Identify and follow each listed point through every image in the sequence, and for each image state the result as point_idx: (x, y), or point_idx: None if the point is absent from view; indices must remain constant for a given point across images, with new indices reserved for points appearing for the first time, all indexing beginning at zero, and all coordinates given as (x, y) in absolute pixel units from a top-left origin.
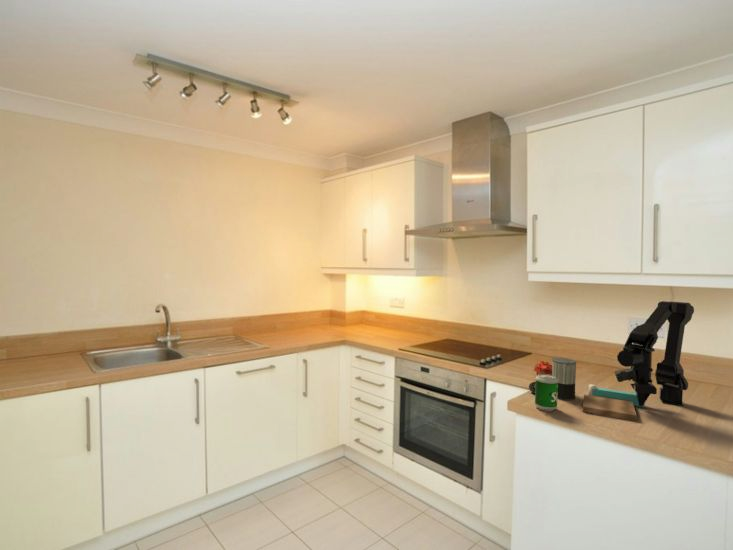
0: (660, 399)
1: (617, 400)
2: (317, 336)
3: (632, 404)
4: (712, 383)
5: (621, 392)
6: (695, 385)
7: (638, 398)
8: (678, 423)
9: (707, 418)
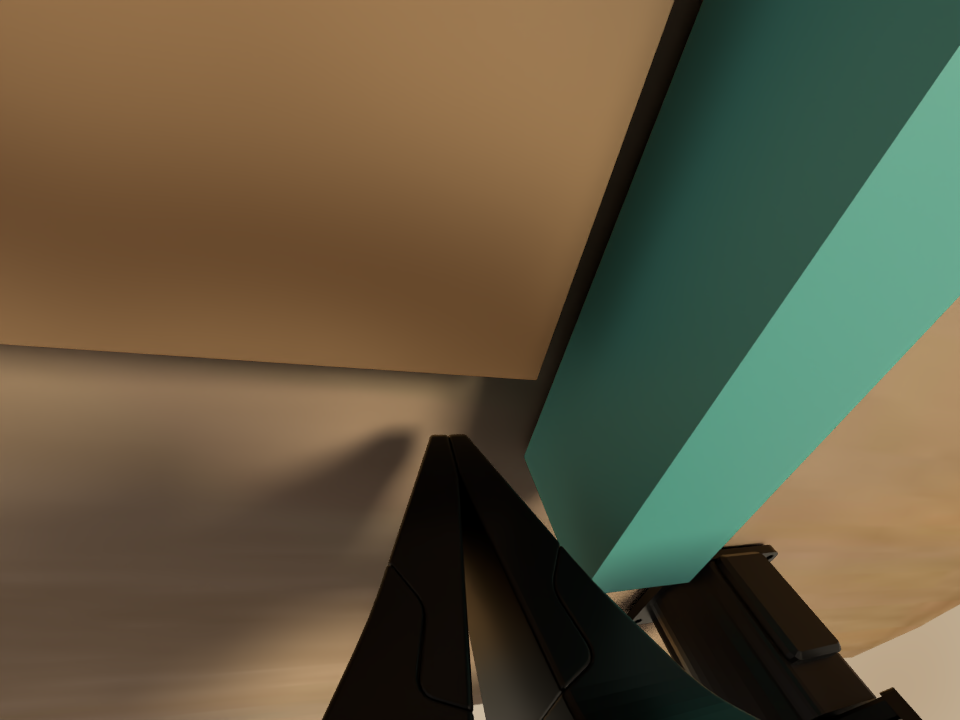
0: (723, 558)
1: (554, 66)
2: None
3: (350, 358)
4: (885, 639)
5: (857, 280)
6: (890, 617)
7: (393, 548)
8: (122, 624)
9: None
